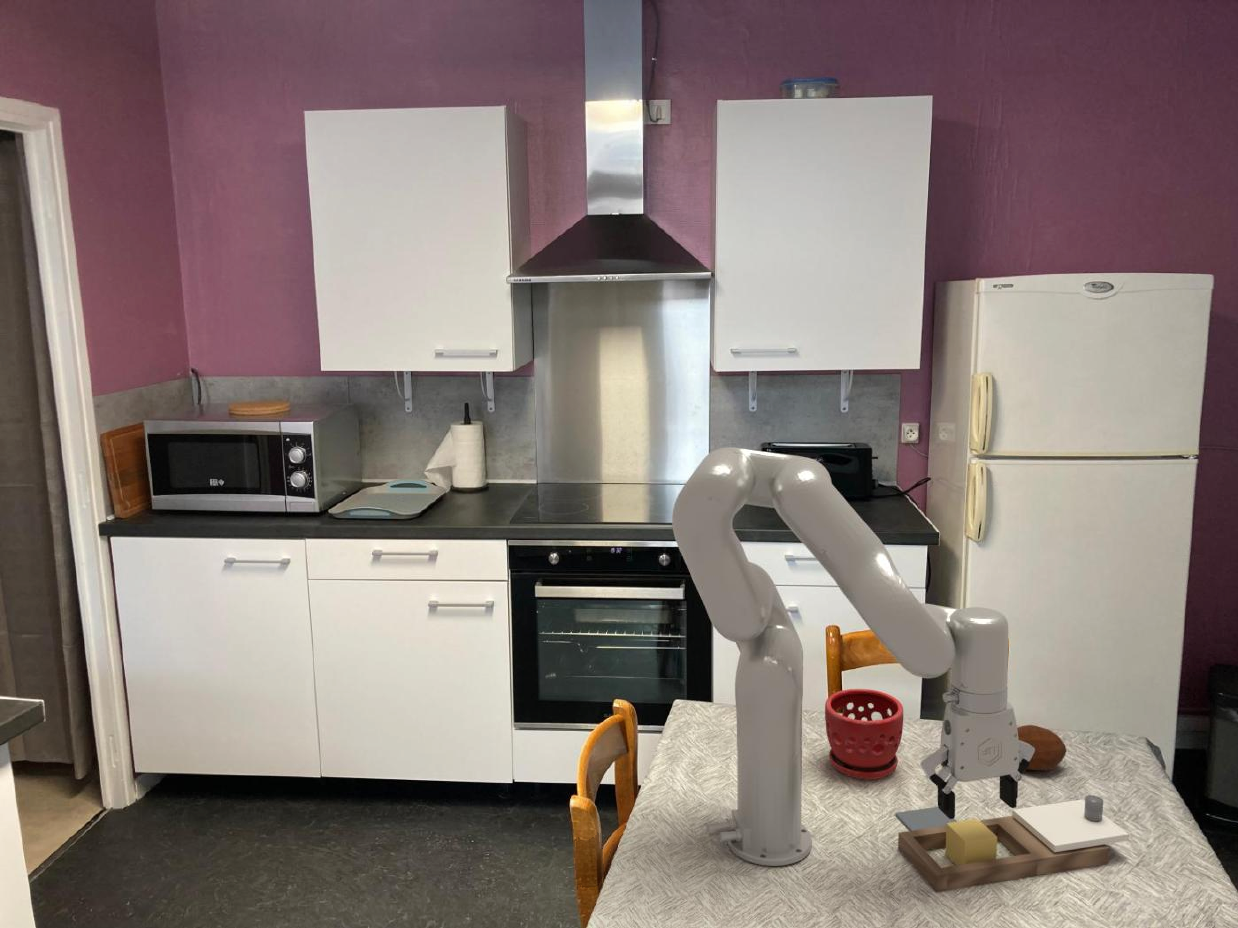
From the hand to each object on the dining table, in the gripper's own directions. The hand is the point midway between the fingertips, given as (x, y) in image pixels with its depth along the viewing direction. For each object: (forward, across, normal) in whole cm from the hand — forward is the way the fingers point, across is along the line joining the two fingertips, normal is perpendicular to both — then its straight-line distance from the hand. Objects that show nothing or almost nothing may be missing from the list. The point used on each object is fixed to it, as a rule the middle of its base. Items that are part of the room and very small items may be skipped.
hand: (977, 808), depth 139 cm
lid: (+6, +15, 0) cm, 16 cm away
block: (+8, -1, 0) cm, 8 cm away
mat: (+8, -1, +10) cm, 13 cm away
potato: (+9, +25, +23) cm, 35 cm away
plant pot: (+8, -3, +30) cm, 31 cm away
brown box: (+8, +4, 0) cm, 9 cm away
